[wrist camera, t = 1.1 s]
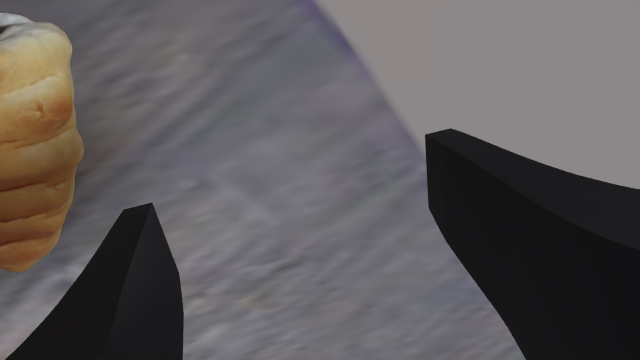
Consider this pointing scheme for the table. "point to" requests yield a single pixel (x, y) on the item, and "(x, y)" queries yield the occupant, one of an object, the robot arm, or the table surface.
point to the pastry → (35, 139)
